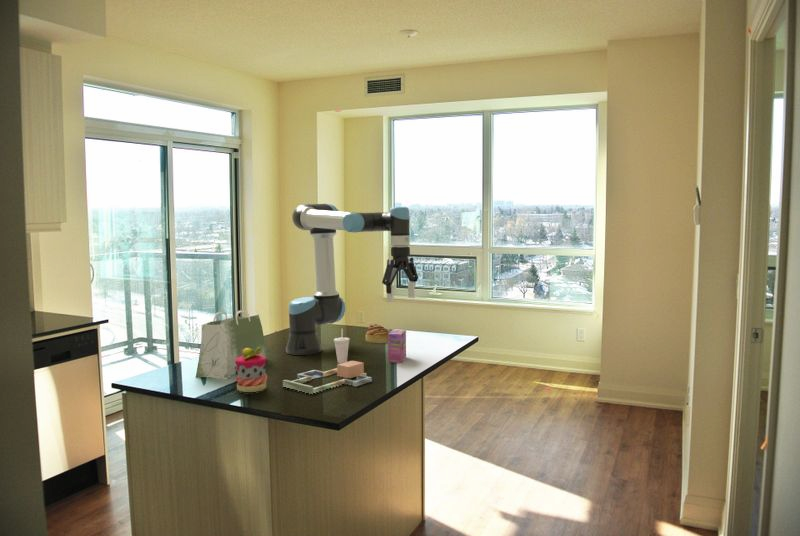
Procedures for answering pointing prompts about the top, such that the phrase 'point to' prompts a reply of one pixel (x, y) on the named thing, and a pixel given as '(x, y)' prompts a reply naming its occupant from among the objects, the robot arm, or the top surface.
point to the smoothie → (341, 348)
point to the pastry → (377, 334)
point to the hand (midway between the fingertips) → (401, 299)
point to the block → (350, 369)
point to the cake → (251, 371)
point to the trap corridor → (317, 374)
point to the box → (397, 345)
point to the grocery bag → (228, 344)
